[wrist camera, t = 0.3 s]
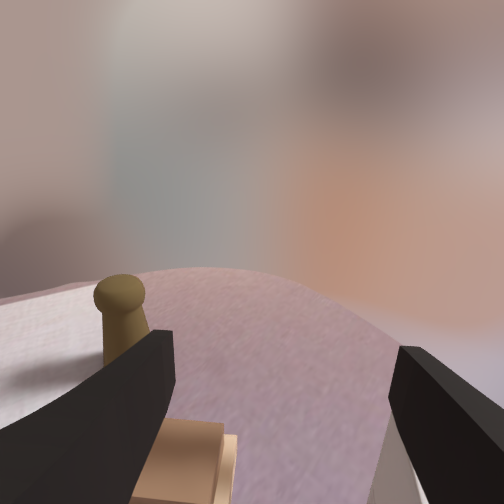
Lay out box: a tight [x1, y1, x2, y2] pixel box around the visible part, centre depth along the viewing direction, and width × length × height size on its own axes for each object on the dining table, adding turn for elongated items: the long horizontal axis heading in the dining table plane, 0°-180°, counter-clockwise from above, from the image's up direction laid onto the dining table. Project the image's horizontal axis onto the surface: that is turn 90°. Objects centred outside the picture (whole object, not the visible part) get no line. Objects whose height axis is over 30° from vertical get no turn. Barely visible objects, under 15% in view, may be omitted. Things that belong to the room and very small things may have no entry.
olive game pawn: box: [93, 274, 150, 367], centre depth 37 cm, size 6×6×11 cm
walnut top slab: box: [129, 418, 224, 504], centre depth 25 cm, size 6×6×2 cm
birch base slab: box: [214, 434, 237, 504], centre depth 25 cm, size 8×8×2 cm
